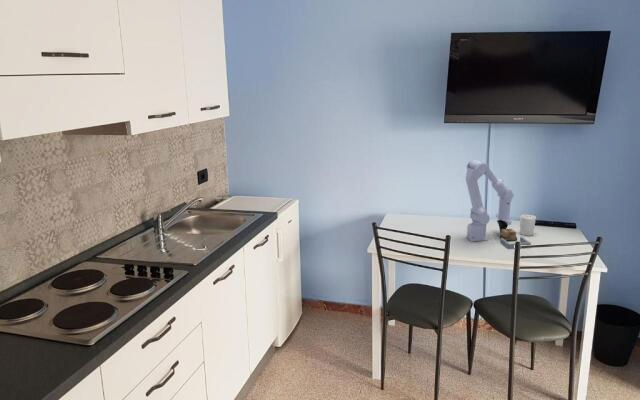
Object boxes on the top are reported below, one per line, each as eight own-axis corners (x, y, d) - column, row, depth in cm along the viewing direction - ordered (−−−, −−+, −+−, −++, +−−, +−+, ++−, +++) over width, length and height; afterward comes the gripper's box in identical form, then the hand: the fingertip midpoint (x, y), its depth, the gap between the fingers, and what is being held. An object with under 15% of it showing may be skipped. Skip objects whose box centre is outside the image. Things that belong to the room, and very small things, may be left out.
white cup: (525, 236, 272) (526, 219, 269) (515, 232, 279) (517, 215, 276) (537, 235, 274) (538, 218, 271) (527, 230, 281) (529, 213, 278)
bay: (508, 248, 256) (508, 244, 255) (500, 242, 265) (500, 238, 264) (530, 247, 257) (530, 243, 256) (521, 241, 266) (522, 236, 265)
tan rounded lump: (503, 241, 266) (504, 232, 264) (499, 238, 271) (500, 229, 269) (516, 240, 266) (517, 231, 265) (512, 237, 271) (513, 228, 270)
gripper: (517, 213, 265) (515, 237, 268) (505, 205, 278) (503, 228, 282) (504, 214, 264) (503, 237, 268) (493, 206, 278) (491, 229, 282)
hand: (502, 233), depth 275 cm, fingers closed
